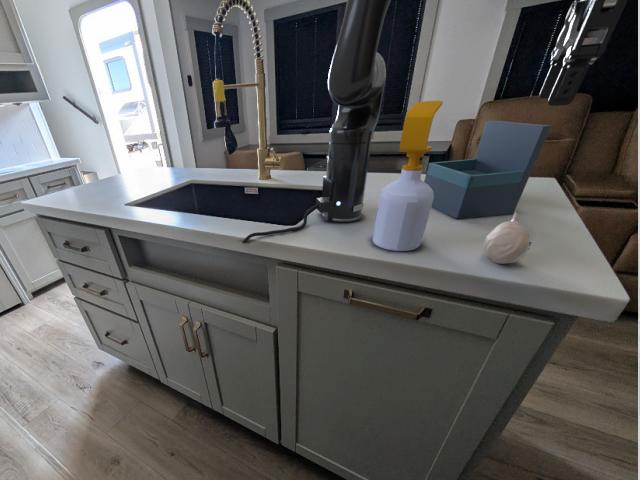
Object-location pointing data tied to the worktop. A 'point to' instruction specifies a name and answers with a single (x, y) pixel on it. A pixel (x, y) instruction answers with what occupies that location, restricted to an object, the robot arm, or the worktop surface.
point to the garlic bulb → (507, 242)
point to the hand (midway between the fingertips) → (552, 101)
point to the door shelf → (488, 172)
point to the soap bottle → (408, 187)
